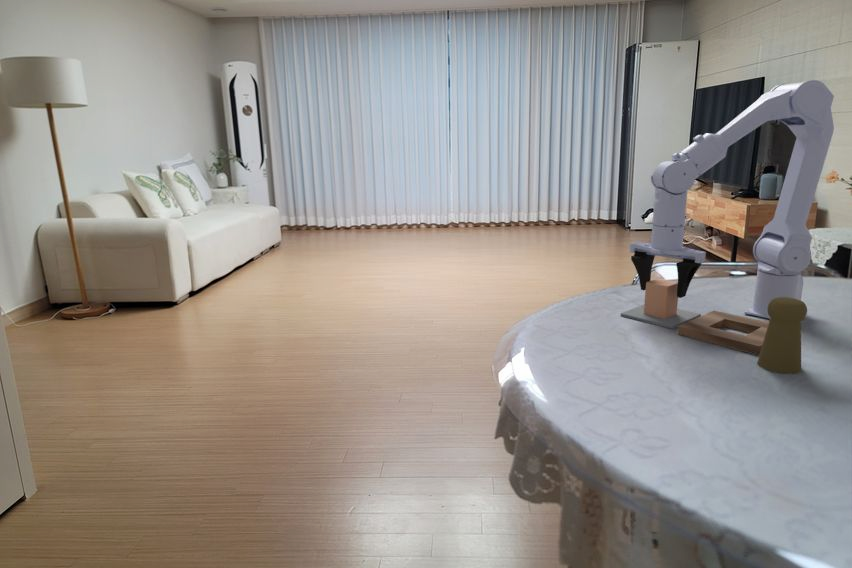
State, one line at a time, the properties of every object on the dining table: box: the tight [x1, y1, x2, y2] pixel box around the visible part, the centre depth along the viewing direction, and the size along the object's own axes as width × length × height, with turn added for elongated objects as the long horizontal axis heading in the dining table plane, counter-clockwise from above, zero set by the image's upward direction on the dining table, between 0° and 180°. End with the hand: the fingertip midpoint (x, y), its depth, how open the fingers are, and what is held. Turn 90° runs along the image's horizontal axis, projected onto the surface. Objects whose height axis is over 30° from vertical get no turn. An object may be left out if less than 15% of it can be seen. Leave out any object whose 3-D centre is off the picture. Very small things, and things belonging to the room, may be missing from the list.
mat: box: [620, 304, 702, 330], centre depth 118 cm, size 11×11×1 cm
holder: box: [677, 310, 769, 356], centre depth 107 cm, size 14×14×2 cm
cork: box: [756, 297, 808, 375], centre depth 92 cm, size 6×6×11 cm
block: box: [643, 277, 679, 319], centre depth 117 cm, size 4×4×6 cm
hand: (662, 292), depth 117 cm, fingers open, 7 cm apart
